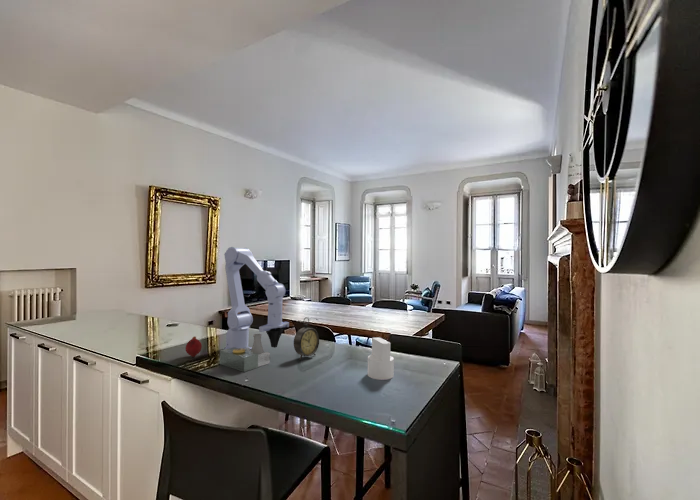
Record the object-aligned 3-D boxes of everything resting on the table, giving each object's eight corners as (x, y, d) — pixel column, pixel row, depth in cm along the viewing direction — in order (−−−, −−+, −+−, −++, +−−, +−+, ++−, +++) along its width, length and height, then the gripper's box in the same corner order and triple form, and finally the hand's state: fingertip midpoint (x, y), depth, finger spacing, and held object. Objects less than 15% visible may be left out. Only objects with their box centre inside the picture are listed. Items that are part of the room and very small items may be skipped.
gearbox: (219, 364, 126) (220, 348, 126) (246, 356, 136) (246, 342, 136) (244, 371, 118) (244, 355, 118) (270, 363, 128) (270, 348, 128)
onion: (197, 359, 131) (197, 338, 132) (182, 358, 132) (183, 338, 132) (203, 354, 137) (204, 335, 137) (189, 354, 137) (190, 334, 138)
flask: (269, 358, 135) (270, 333, 135) (262, 364, 127) (262, 337, 128) (251, 357, 136) (252, 332, 136) (243, 362, 128) (244, 336, 129)
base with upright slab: (363, 372, 120) (364, 338, 121) (386, 369, 124) (386, 336, 124) (374, 381, 112) (374, 344, 112) (398, 378, 115) (398, 342, 116)
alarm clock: (300, 362, 130) (301, 319, 131) (290, 359, 134) (291, 318, 134) (319, 356, 139) (320, 316, 140) (310, 353, 142) (311, 314, 143)
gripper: (268, 317, 131) (267, 352, 130) (294, 312, 143) (293, 345, 142) (256, 314, 135) (254, 349, 135) (282, 310, 147) (281, 342, 146)
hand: (274, 346), depth 139 cm, fingers closed
